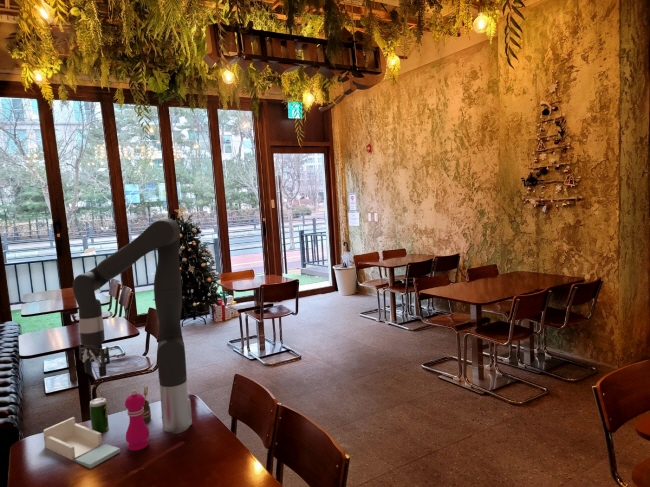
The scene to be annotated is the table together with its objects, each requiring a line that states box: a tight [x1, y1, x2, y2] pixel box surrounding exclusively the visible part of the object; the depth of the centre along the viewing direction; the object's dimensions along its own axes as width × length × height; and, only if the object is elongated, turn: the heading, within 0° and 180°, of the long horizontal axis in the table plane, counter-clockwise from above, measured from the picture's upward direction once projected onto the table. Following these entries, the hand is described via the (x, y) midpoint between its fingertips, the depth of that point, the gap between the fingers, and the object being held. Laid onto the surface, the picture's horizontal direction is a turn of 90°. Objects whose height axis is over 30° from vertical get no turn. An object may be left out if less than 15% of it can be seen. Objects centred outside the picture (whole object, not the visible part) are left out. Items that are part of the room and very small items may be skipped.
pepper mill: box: [124, 389, 150, 451], centre depth 146 cm, size 7×7×20 cm
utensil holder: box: [143, 386, 152, 424], centre depth 165 cm, size 6×6×12 cm
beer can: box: [89, 397, 110, 435], centre depth 157 cm, size 5×5×12 cm
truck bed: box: [43, 416, 103, 461], centre depth 147 cm, size 10×16×7 cm, turn 59°
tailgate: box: [71, 442, 121, 469], centre depth 141 cm, size 10×2×9 cm
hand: (95, 374), depth 155 cm, fingers open, 8 cm apart
